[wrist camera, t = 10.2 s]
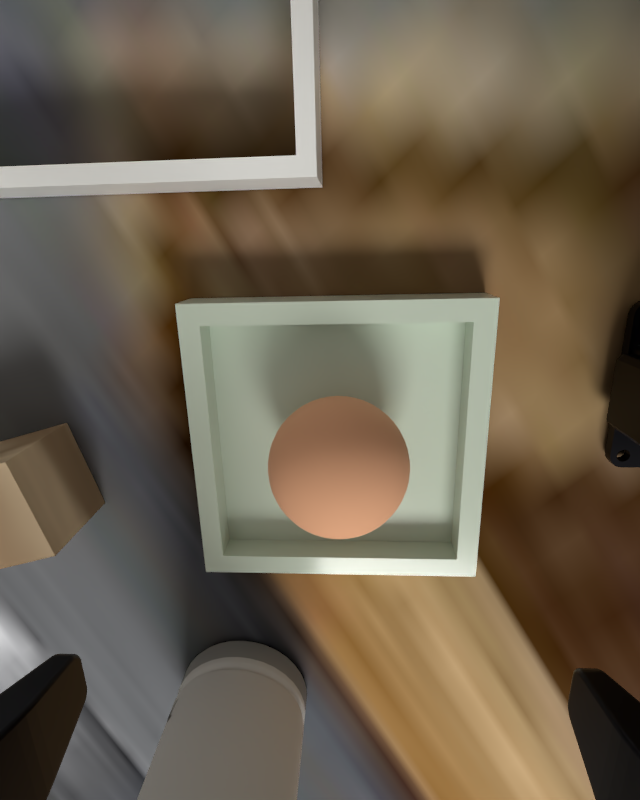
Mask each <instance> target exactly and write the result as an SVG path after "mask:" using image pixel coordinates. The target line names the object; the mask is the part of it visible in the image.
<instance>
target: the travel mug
mask: <svg viewBox="0 0 640 800" xmlns="http://www.w3.org/2000/svg"><path fill="white" fill-rule="evenodd" d="M306 699H307V691H306V684H305V682H304V679H303V677H302V675H301V673H300V672H299V670H298V669H297V667H296V666H295V665H294V664H293V663H292V662H291V661H290V660H289V659H288V658H287V657H286V656H285V655H283V654H282V653H280V652H279V651H277V650H275V649H273V648H271V647H269V646H266V645H263V644H259V643H256V642H249V641H229V642H224V643H219V644H217V645H214V646H212V647H209V648H207V649H206V650H204V651H203V652H201V653H200V654H198V655H197V656H196V658H195V659H194V660H193V661H192V662H191V663H190V665H189V667H188V669H187V671H186V673H185V676H184V679H183V681H182V684H181V686H180V689H179V692H178V696H177V698H176V699H175V702H174V705H173V707H172V710H171V713H170V715H169V718H168V720H167V723H166V726H165V728H164V731H163V733H162V736H161V739H160V741H159V744H158V746H157V749H156V752H155V754H154V757H153V760H152V762H151V765H150V767H149V770H148V773H147V775H146V778H145V780H144V783H143V786H142V788H141V791H140V794H139V796H138V799H137V800H297V792H298V781H299V771H300V761H301V750H302V740H303V730H304V719H305V709H306Z"/></svg>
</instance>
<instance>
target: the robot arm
mask: <svg viewBox="0 0 640 800" xmlns="http://www.w3.org/2000/svg"><path fill="white" fill-rule="evenodd" d="M607 421H608V422H609V423H610V426H609V432H608V438H607V444H606V450H605V456H606V458H607V459H608V460H609V461H610V462H611V463H612V464H614V465H615V466H617V467H640V301H638V302H637V303H635V304H634V305H633V306H632V307H631V308H630V311H629V313H628V319H627V325H626V331H625V337H624V343H623V349H622V355H621V356H620V357H619V358H618V360H617V361H616V366H615V372H614V378H613V384H612V390H611V396H610V402H609V408H608V414H607ZM621 450H625V452H624V454H623V455H622V456H621V457H617V454H618V452H620V451H621ZM86 695H87V685H86V681H85V676H84V672H83V668H82V663H81V659H80V657H79V656H78V655H76V654H56V655H54V656H52V657H51V658H49V659H48V660H46V661H45V662H44V663H42V664H41V665H39V666H38V667H37V668H35V669H34V670H33V671H31V672H30V673H28V674H27V675H26V676H24V677H23V678H22V679H20V680H19V681H17V682H16V683H15V684H13V685H12V686H10V687H9V688H8V689H6V690H5V691H4V692H2V693H1V694H0V800H46V799H47V797H48V795H49V792H50V790H51V787H52V785H53V783H54V780H55V778H56V775H57V773H58V770H59V767H60V765H61V762H62V760H63V757H64V755H65V752H66V749H67V747H68V744H69V742H70V739H71V736H72V734H73V731H74V729H75V726H76V724H77V721H78V718H79V716H80V713H81V711H82V708H83V705H84V703H85V700H86ZM568 711H569V717H570V720H571V723H572V727H573V730H574V733H575V736H576V739H577V742H578V745H579V749H580V752H581V755H582V758H583V761H584V764H585V767H586V771H587V774H588V777H589V780H590V783H591V786H592V789H593V793H594V796H595V799H596V800H640V702H639V701H638V700H637V699H635V698H634V697H633V696H632V695H631V694H629V693H628V692H627V691H626V690H625V689H624V688H622V687H621V686H620V685H619V684H618V683H616V682H615V681H614V680H613V679H612V678H611V677H609V676H608V675H607V674H606V673H605V672H603V671H601V670H599V669H591V668H578V669H576V670H575V671H574V673H573V677H572V683H571V688H570V694H569V700H568Z"/></svg>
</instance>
